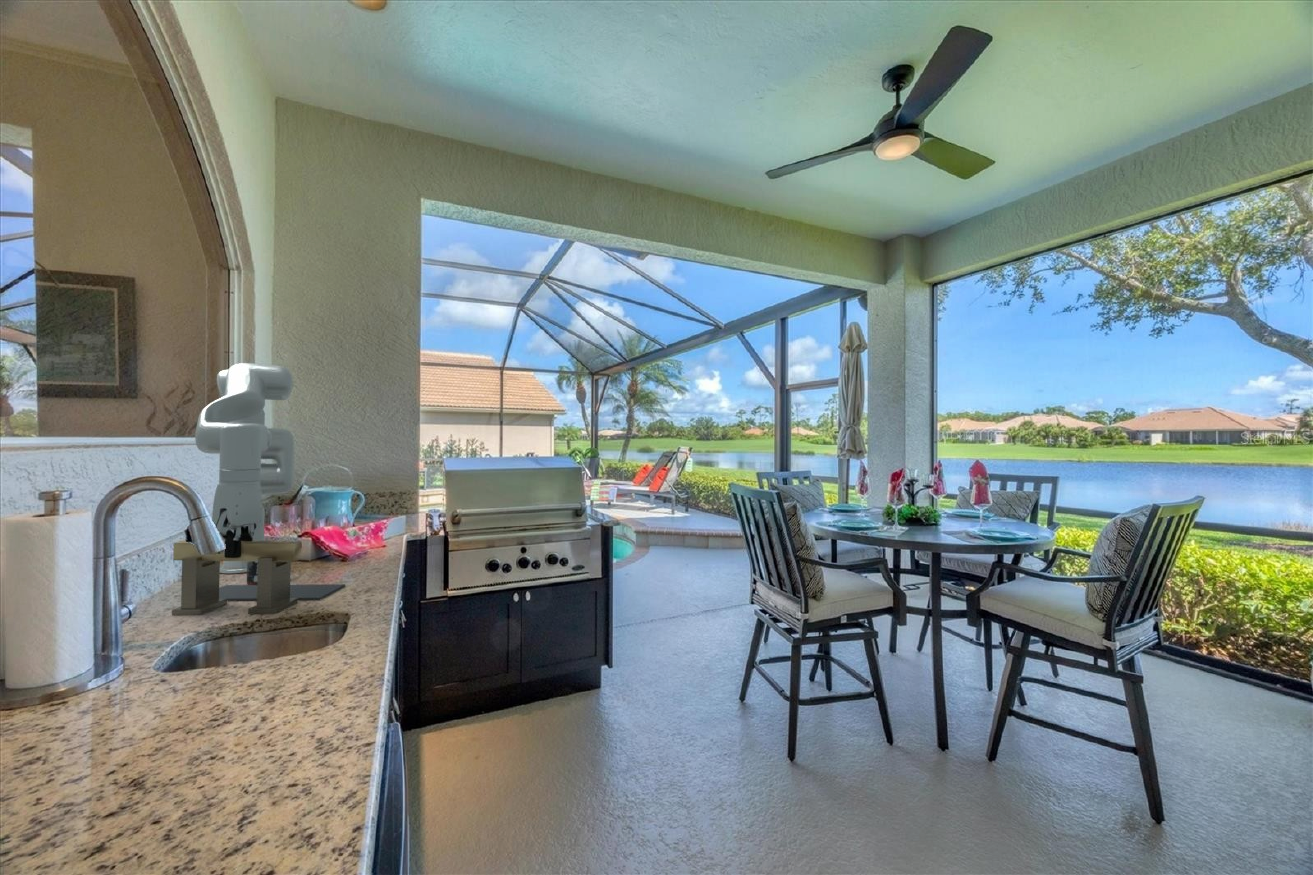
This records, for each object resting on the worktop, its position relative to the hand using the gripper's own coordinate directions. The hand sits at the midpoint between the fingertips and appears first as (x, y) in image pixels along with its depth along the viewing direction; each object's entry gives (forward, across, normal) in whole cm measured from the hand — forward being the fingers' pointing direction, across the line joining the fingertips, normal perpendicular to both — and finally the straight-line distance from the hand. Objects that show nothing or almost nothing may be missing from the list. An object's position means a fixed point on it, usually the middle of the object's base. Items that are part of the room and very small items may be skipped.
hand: (238, 554), depth 121 cm
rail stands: (+12, +1, 0) cm, 12 cm away
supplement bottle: (+13, -21, -9) cm, 26 cm away
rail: (+1, 0, 0) cm, 1 cm away
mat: (+13, -11, 0) cm, 17 cm away
